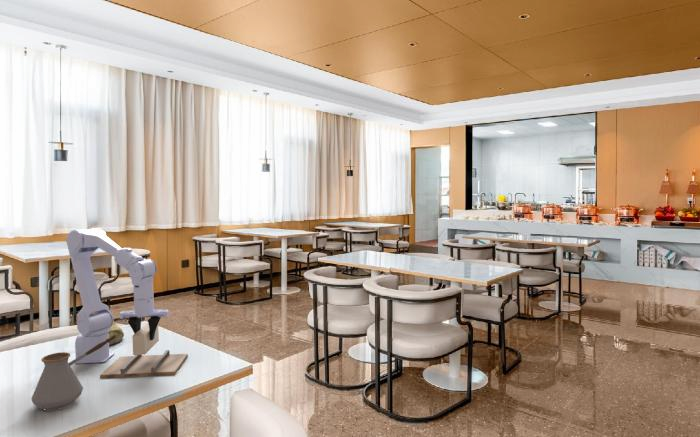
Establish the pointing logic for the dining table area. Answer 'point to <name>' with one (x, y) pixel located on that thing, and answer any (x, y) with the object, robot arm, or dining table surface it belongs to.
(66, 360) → the coffee pot
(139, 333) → the beige rectangular block
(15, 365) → the dining table surface
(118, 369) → the tan panel with rails
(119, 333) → the pastry
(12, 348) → the dining table surface
